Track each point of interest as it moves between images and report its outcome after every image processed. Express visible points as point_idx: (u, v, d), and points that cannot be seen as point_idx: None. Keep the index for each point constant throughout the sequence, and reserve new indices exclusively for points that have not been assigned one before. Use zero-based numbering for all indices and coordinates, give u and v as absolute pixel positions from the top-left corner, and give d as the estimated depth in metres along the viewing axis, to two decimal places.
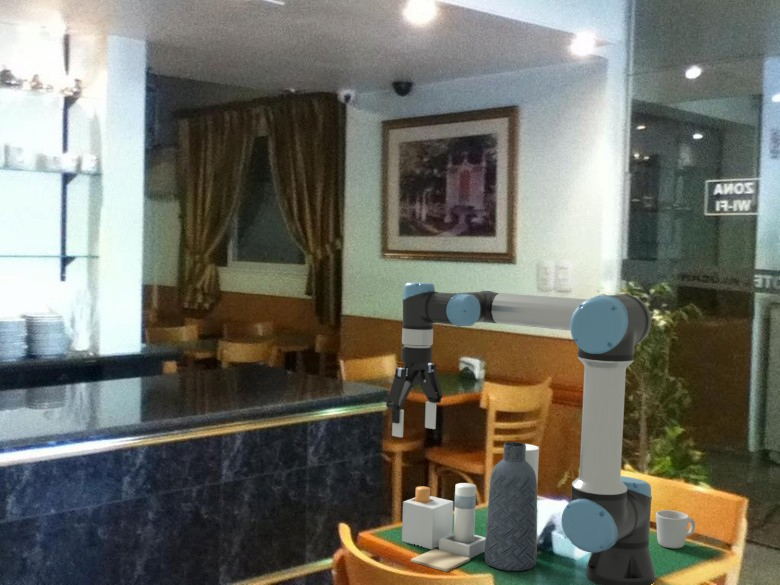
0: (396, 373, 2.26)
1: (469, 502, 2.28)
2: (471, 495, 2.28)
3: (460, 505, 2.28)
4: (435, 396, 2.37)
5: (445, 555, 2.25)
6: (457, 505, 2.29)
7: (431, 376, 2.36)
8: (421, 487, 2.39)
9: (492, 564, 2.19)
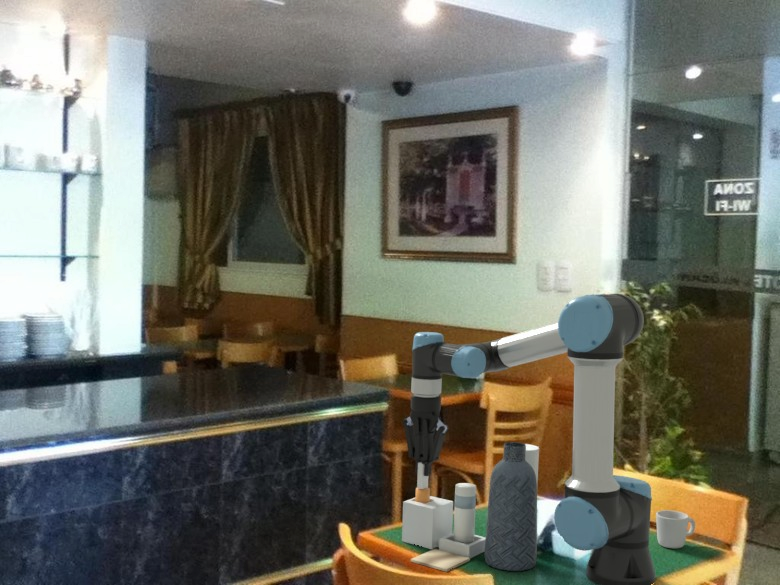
0: None
1: (469, 502, 2.28)
2: (471, 495, 2.28)
3: (460, 505, 2.28)
4: (425, 456, 2.36)
5: (445, 555, 2.25)
6: (457, 505, 2.29)
7: None
8: None
9: (492, 564, 2.19)
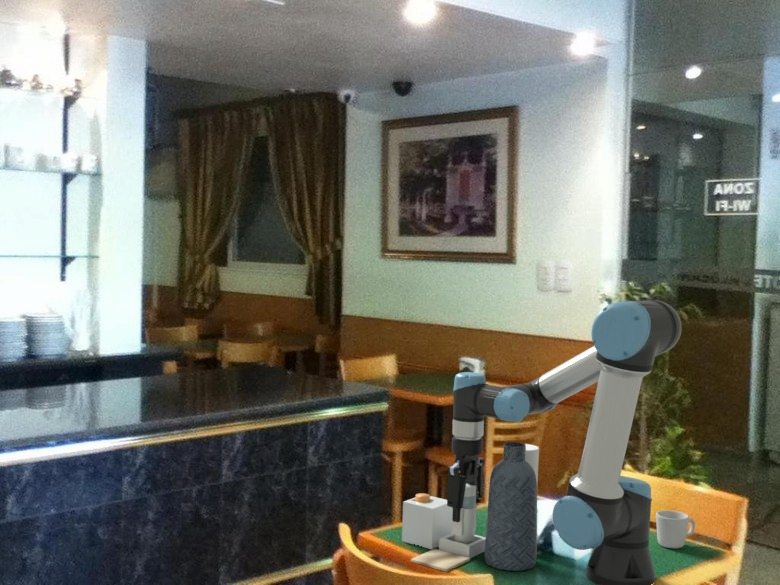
0: (449, 472, 2.25)
1: (469, 502, 2.28)
2: (471, 495, 2.28)
3: None
4: (477, 495, 2.32)
5: (445, 555, 2.25)
6: None
7: (477, 471, 2.34)
8: (421, 494, 2.39)
9: (492, 564, 2.19)
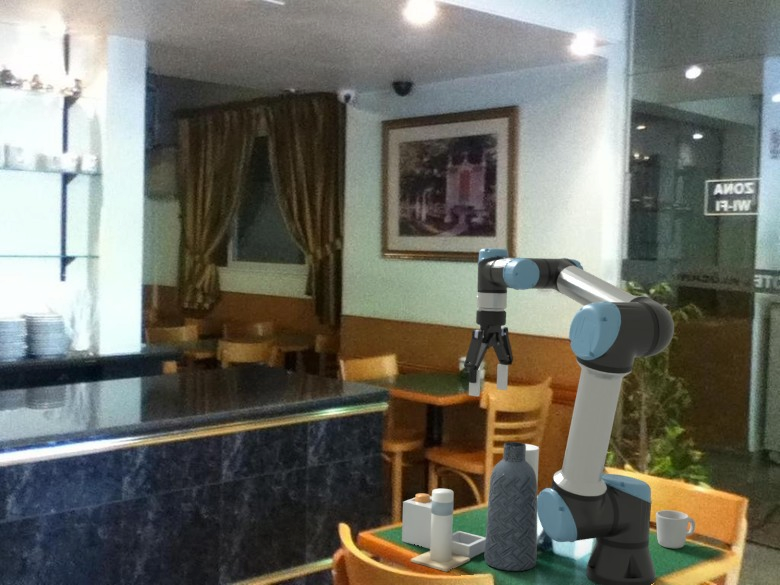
0: (473, 335, 2.36)
1: (446, 508, 2.20)
2: (448, 501, 2.20)
3: (437, 511, 2.20)
4: (507, 358, 2.46)
5: None
6: (434, 511, 2.21)
7: (503, 339, 2.46)
8: (421, 494, 2.39)
9: (492, 564, 2.19)
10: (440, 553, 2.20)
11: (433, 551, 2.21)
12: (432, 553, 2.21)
